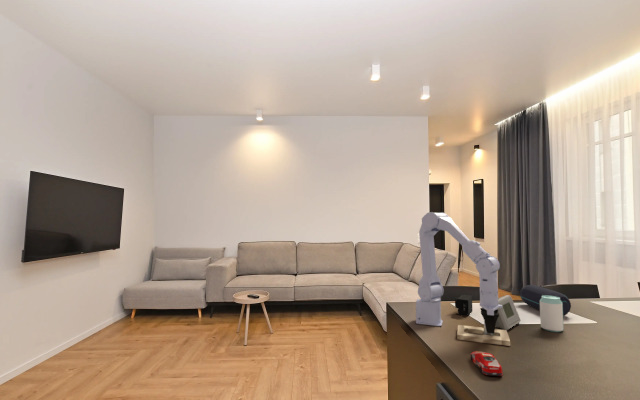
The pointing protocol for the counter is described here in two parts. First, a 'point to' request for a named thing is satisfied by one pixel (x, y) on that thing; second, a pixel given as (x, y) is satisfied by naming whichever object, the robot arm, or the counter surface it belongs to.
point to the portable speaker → (534, 293)
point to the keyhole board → (498, 338)
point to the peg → (486, 331)
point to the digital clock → (507, 313)
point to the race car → (486, 363)
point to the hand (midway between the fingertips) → (490, 331)
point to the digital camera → (464, 305)
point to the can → (551, 313)
